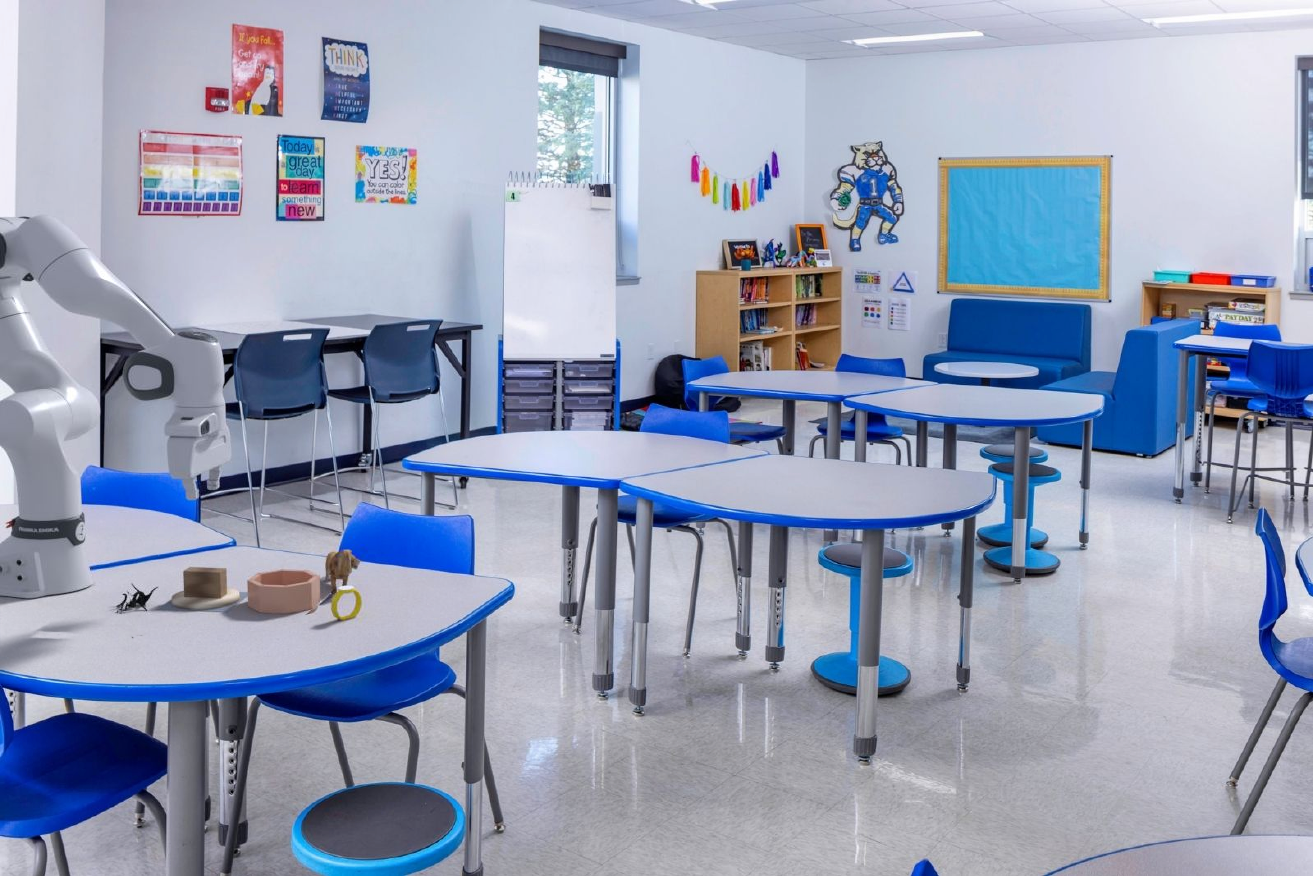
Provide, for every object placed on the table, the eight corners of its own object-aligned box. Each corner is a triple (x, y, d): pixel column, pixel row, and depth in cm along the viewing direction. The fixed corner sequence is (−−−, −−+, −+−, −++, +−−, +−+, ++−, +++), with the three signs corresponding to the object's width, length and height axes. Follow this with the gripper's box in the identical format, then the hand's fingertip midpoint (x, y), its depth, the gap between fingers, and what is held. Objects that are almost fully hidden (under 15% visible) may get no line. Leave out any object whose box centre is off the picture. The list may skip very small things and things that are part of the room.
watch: (339, 624, 225) (336, 593, 224) (329, 621, 227) (327, 590, 226) (365, 615, 230) (363, 584, 229) (355, 612, 232) (353, 582, 230)
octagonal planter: (240, 617, 227) (240, 585, 226) (264, 598, 239) (263, 568, 238) (305, 619, 227) (305, 587, 226) (325, 601, 239) (325, 570, 238)
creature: (136, 627, 223) (166, 607, 230) (130, 601, 221) (161, 581, 228) (102, 622, 226) (132, 601, 233) (95, 596, 224) (127, 576, 231)
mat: (156, 614, 227) (156, 609, 227) (186, 594, 240) (186, 589, 240) (226, 617, 227) (226, 612, 227) (252, 597, 240) (252, 592, 240)
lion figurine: (363, 595, 244) (362, 550, 242) (336, 598, 241) (336, 553, 239) (337, 577, 256) (336, 534, 254) (311, 580, 253) (311, 537, 251)
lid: (160, 608, 228) (159, 576, 227) (187, 590, 240) (186, 560, 239) (224, 611, 227) (224, 579, 226) (249, 593, 239) (248, 562, 238)
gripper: (206, 412, 239) (209, 483, 241) (159, 427, 218) (162, 504, 220) (238, 413, 238) (241, 484, 240) (194, 428, 218) (197, 505, 220)
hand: (203, 494), depth 230 cm, fingers open, 8 cm apart
